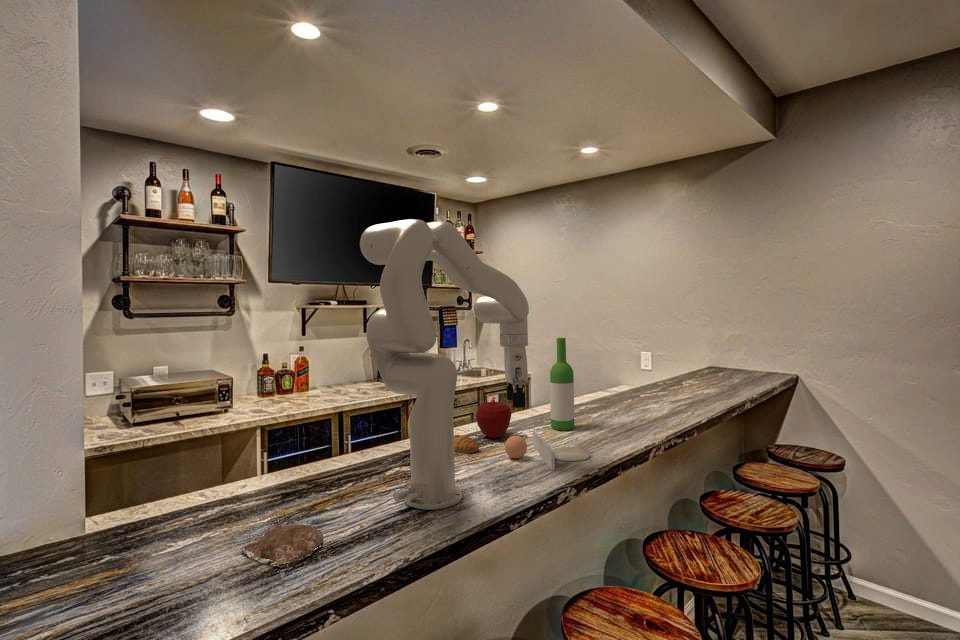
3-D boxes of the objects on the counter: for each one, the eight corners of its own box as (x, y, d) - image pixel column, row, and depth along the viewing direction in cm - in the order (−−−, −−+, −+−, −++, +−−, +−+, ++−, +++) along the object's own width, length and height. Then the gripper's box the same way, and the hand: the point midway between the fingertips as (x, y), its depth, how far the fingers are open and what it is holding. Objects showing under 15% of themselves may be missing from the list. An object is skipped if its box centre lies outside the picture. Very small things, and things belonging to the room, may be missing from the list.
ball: (518, 463, 130) (517, 440, 130) (500, 458, 134) (500, 436, 134) (531, 457, 135) (531, 435, 134) (514, 453, 139) (513, 432, 138)
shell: (293, 528, 96) (292, 510, 96) (337, 544, 89) (337, 525, 89) (236, 554, 86) (235, 534, 86) (281, 575, 79) (280, 553, 79)
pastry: (484, 450, 142) (484, 437, 142) (468, 456, 138) (467, 443, 137) (462, 444, 149) (461, 432, 149) (445, 450, 144) (445, 437, 144)
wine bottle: (578, 427, 166) (576, 337, 164) (569, 432, 159) (567, 339, 158) (556, 424, 170) (554, 336, 169) (546, 429, 163) (545, 338, 162)
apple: (470, 439, 153) (469, 402, 153) (487, 431, 163) (486, 395, 162) (502, 443, 148) (501, 405, 148) (517, 435, 157) (516, 398, 157)
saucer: (576, 464, 128) (576, 462, 128) (541, 456, 136) (541, 454, 135) (597, 454, 136) (597, 451, 136) (563, 446, 144) (563, 444, 144)
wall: (554, 470, 124) (554, 452, 124) (551, 470, 124) (551, 452, 124) (535, 444, 146) (535, 429, 146) (533, 445, 146) (532, 429, 146)
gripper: (534, 342, 125) (536, 409, 126) (521, 337, 142) (523, 396, 143) (505, 344, 124) (507, 411, 125) (495, 338, 142) (497, 397, 142)
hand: (515, 403), depth 134 cm, fingers open, 9 cm apart
